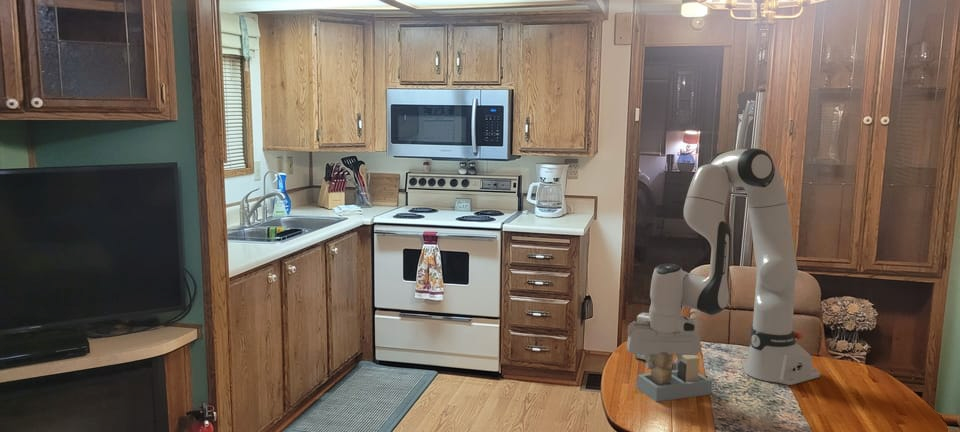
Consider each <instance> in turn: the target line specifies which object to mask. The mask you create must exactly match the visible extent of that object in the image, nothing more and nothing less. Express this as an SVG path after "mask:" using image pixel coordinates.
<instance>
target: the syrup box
mask: <svg viewBox="0 0 960 432" xmlns="http://www.w3.org/2000/svg"><path fill="white" fill-rule="evenodd" d="M636 321H638V322H642V321H649V312H640V313H639V314H638V315H637V316H636ZM634 358H635V359H636V360H637V359H638V360H642V361H646V360H645V358H644V356H643V354H634ZM648 360H649V361H652V355H651V354H650V358H648Z"/></svg>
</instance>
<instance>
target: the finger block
mask: <svg viewBox="0 0 960 432" xmlns="http://www.w3.org/2000/svg"><path fill="white" fill-rule="evenodd" d="M673 358H674V355H668V353H660V354H659V355H652V363H653V369H650V370H651V371H650V373H651V380H653V381H655V382H657V383H659V384H664V383H668V382H671V376H672V371H673V369H672V362H674V360H673Z"/></svg>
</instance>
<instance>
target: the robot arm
mask: <svg viewBox="0 0 960 432" xmlns="http://www.w3.org/2000/svg"><path fill="white" fill-rule="evenodd" d="M775 168H776V167H775V164H774V161H773V158H772V157H771V155H770V154H769V153H768V152H767V151H766V150H764V149H761V148H760V149H759V148H755V147H754V148H740V149H739V148H738V149H737V148H736V149H734V150H731V151H722V152H720V153H717V154H715V155H714V156H711V158H710V159H709V161H707V164H704V165H703V164H702V165H700V166H699V167H698V168H697V169H696V170H695V173H694V175H693V177H692V179H691V182H690V184H689V187H688V190H687V194H686V197H685V201H684V205H683V219H684V221H685V222H686V224H687V225H688V226H689V227H690V228H691V229H692V230H693V231H695V232H696V233H698V234H699V235H701V236H702V237H704V238H705V239H706V240H707V241H708V243H709V245H710V249H711V253H710V265H709V266H710V267H709V274H708V276H702V275H697V274H694V273H690V272H688V271H685V270H683V269H682V267H681V265H678V264H675V263H663V264H659V265H656V266H655V268H654V269H653V273H652V277H651V282H650V291H649V297H650V301H651V302H650V306H649V312H648V313H649V321H642V322H638V321H637V320H636V321H635V320H634V321H633V322H631V323H629V324H628V325H627V342H626V349H627V351H628V352H629V354H630V355H635V354H643V356H644V358H645V360H644V361H646V369H647V370H651V369H653V363H652V361H649V360H648V358H650V354H651V355H659V354H660V353H668V355H673V356H675V357H676V358H675V359H674V360H673V361H672V370H678V364H679V362H680V361H681V360H682V357H683V355H695V356H698V354H700V353H701V337H700V334H699V332H698V331H699V325H698V323H697V322H696V321H695V320H694V319H693V318H692V317H689V316H685V315H682V313H683V312H682V307H681V306H683V307H686V308H689V309H692V310H696V311H699V312H700V313H704V314H706V315H709V316H714V315H717V314H719V313H721V312H723V311H725V309H726V308H727V307H728V305H729V303H730V296H731V295H730V284H729V283H730V282H729V279H730V265H731V248H732V230H731V227H730V225H729V224H728V223H727V222H726V219H725V218H726V217H725V208H726V203H727V198H728V193H729V192H730V190H731V189H732V188H743V189H744V191H745V193H746V199H747V207H748V215H749V223H750V229H751V237H752V243H753V252H754V262H755V269H756V279H755V280H756V281H755V292H754V301H753V302H754V305H753V317H752V318H753V319H752V326H751V327H750V336H749V339H750V345H749V350H748V355H747V358H746V360H745V361H746V362H745V364H744V368H743V371H744V373H745V374H746V375H748V376H750V377H752V378H754V379H757V380H761V381H765V382H772V383H778V384H783V385H786V386H793V385H797V384H799V383H803V382H807V381H810V380H813V379H817V378H821V373H820V371H818V370H817V369H816V368H814V367H813V358H812V355H810V353H809V352H807V351H806V350H805V349H804V348H803V347H802V346H800V345H799V344H798V343H797V341H796V339H798V340H803V337H804V334H803V333H801V332H799V331H795V332H794V330H793V321H794V308H795V293H796V292H795V291H796V289H795V287H796V280H797V278H798V272H799V271H798V270H799V269H798V264H797V263H798V262H797V256H796V248H795V242H794V237H793V230H792V223H791V222H792V221H791V214H790V209H789V201H788V194H787V191H786V186H785V183H784V180H783V177H782V175H781V173H780V172H779V171H778V170H777V169H775Z"/></svg>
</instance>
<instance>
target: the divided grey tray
mask: <svg viewBox="0 0 960 432" xmlns="http://www.w3.org/2000/svg"><path fill="white" fill-rule="evenodd" d="M699 365H700V357H698V355H683V357H682V360H681V361H680V362H679V364H678V369H672V376H671V382H668V383H664V384H659V383H657V382H655V381H653V380H651V372H650V373H642V374H637V381H636V383H637V384H636V389H638V390H639V391H640V392H642V393H643V394H644V395H646V396H647V397H648V398H650V399H652V401H655V402H658V403H659V402H665V401H671V400H679V399H680V400H681V399H686V398H687V399H688V398H693V397H701V396H709V395H712V387H713V385H712V382H713V381H712V380H711V379H709V378H707V377H706V376H705V375H702V374H701V373H699Z"/></svg>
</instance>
